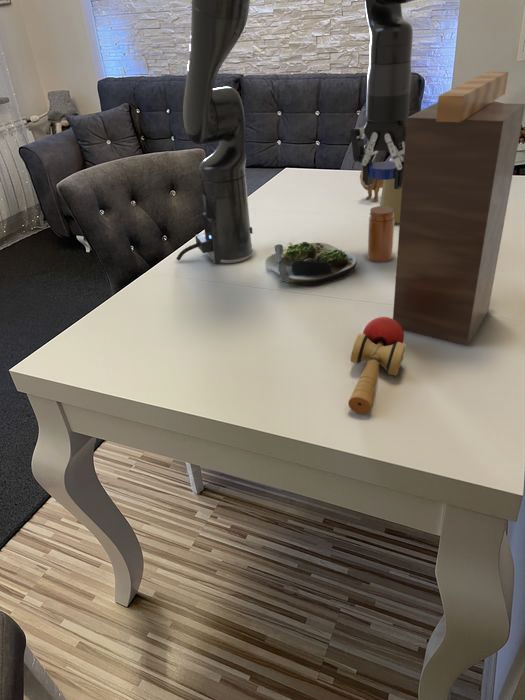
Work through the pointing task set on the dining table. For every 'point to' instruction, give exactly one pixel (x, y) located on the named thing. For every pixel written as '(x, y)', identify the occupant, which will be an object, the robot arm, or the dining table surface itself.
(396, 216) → the squeeze bottle
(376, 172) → the jar lid
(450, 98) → the rod
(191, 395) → the dining table surface
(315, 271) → the salad plate
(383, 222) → the jar
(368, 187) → the lion figurine
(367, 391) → the kendama
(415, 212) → the stand
